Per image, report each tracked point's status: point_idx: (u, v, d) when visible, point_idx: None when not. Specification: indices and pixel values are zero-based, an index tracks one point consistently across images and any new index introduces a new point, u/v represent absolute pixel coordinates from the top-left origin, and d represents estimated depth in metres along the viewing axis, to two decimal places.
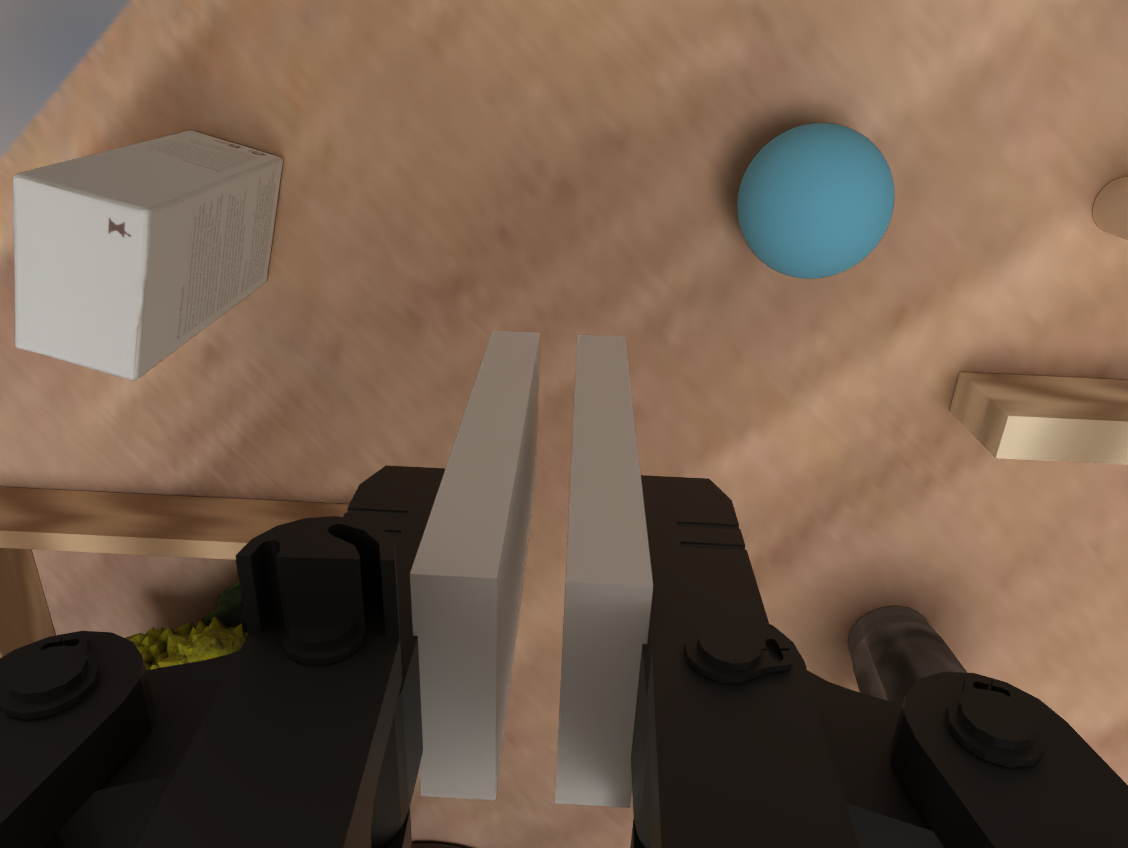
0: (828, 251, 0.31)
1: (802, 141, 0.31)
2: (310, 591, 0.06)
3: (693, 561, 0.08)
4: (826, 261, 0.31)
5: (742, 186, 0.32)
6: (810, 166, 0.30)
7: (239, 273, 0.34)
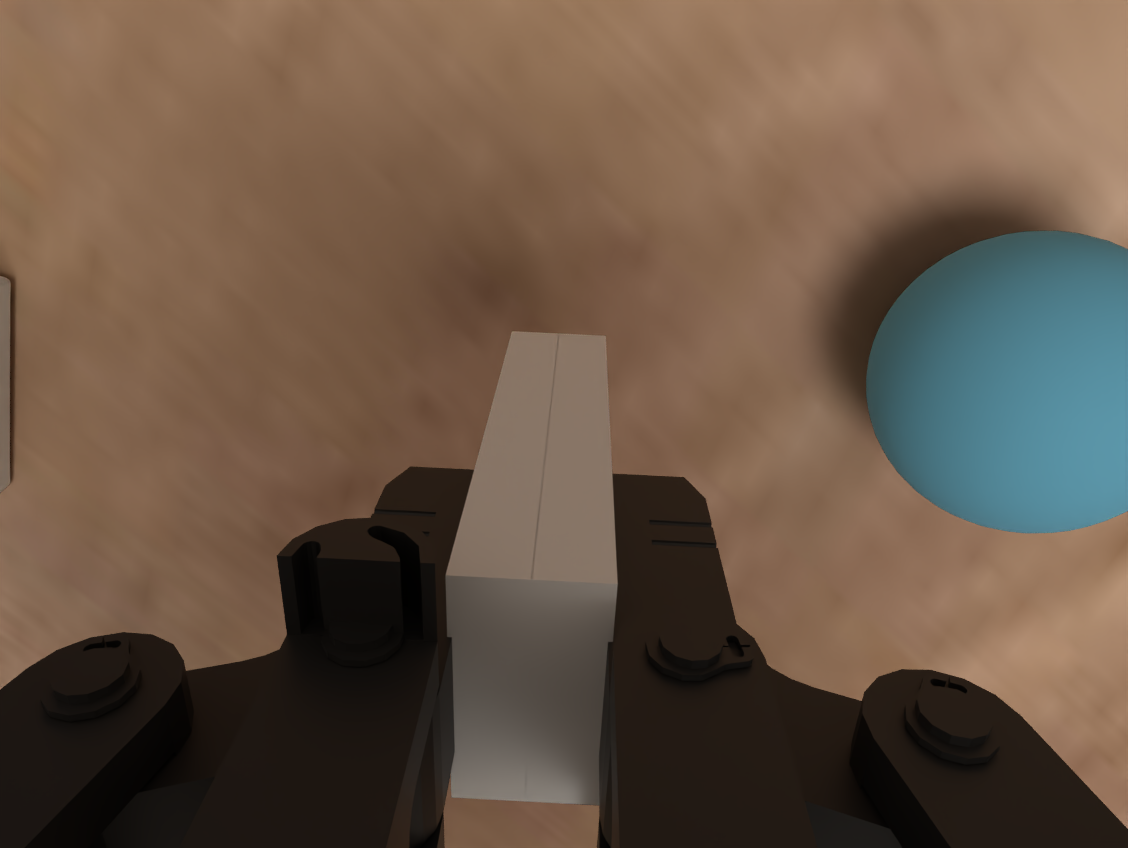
0: (1084, 508, 0.15)
1: (1032, 278, 0.14)
2: (350, 593, 0.06)
3: (664, 559, 0.08)
4: (1073, 521, 0.15)
5: (886, 354, 0.16)
6: (1060, 338, 0.14)
7: None
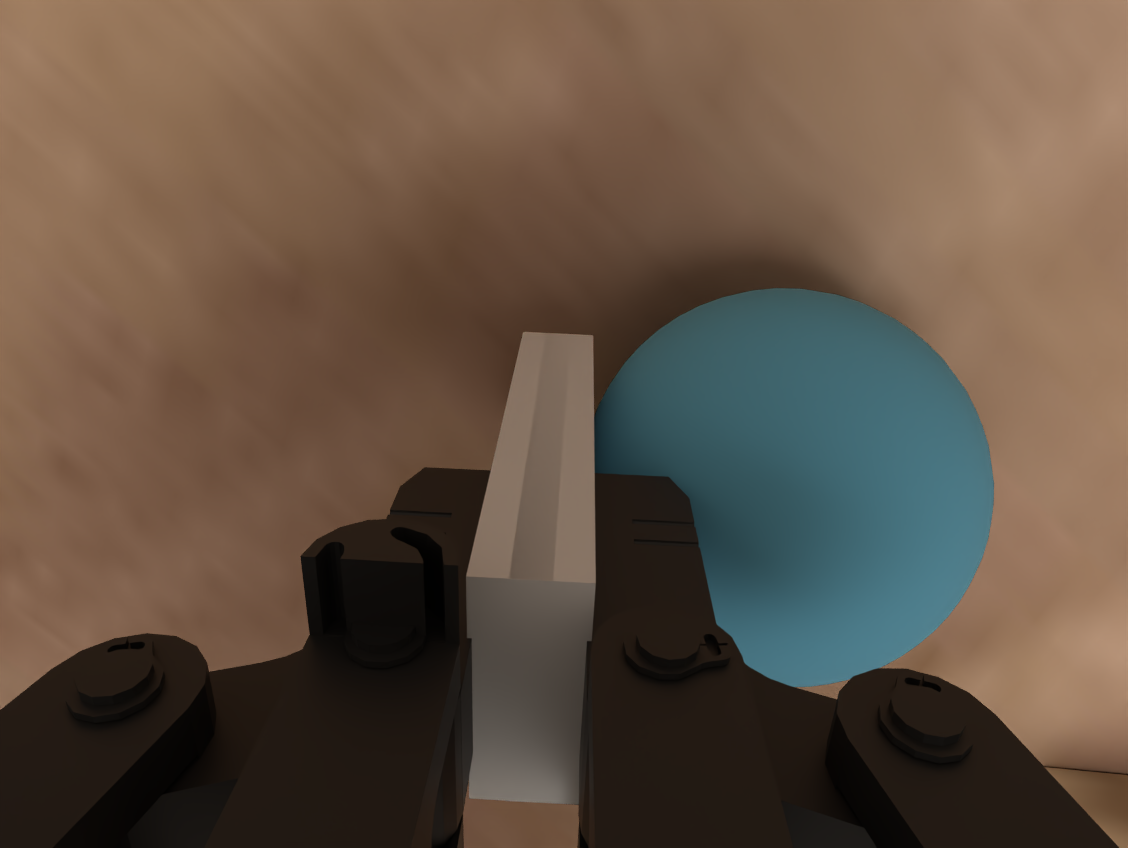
0: (828, 669, 0.11)
1: (764, 358, 0.10)
2: (372, 594, 0.06)
3: (644, 558, 0.08)
4: (818, 682, 0.11)
5: (594, 445, 0.12)
6: (791, 447, 0.10)
7: None
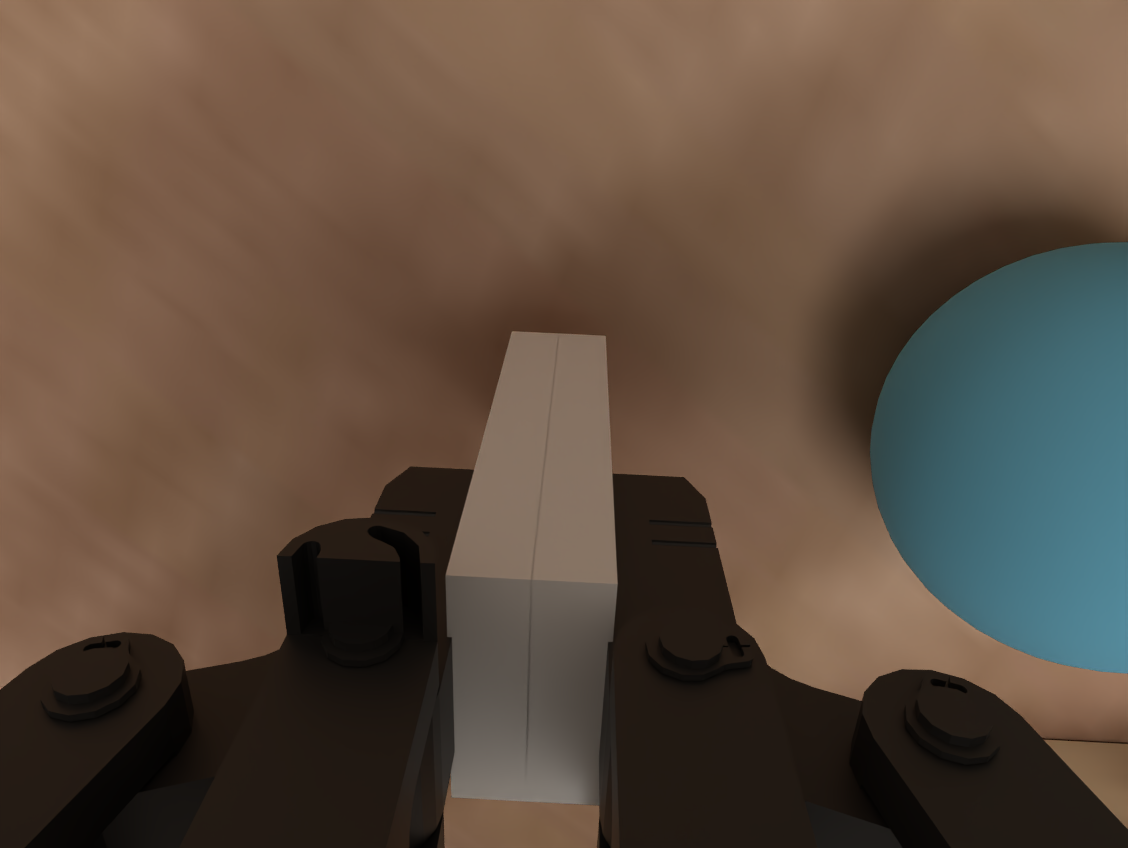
0: None
1: None
2: (350, 593, 0.06)
3: (663, 558, 0.08)
4: None
5: None
6: None
7: None
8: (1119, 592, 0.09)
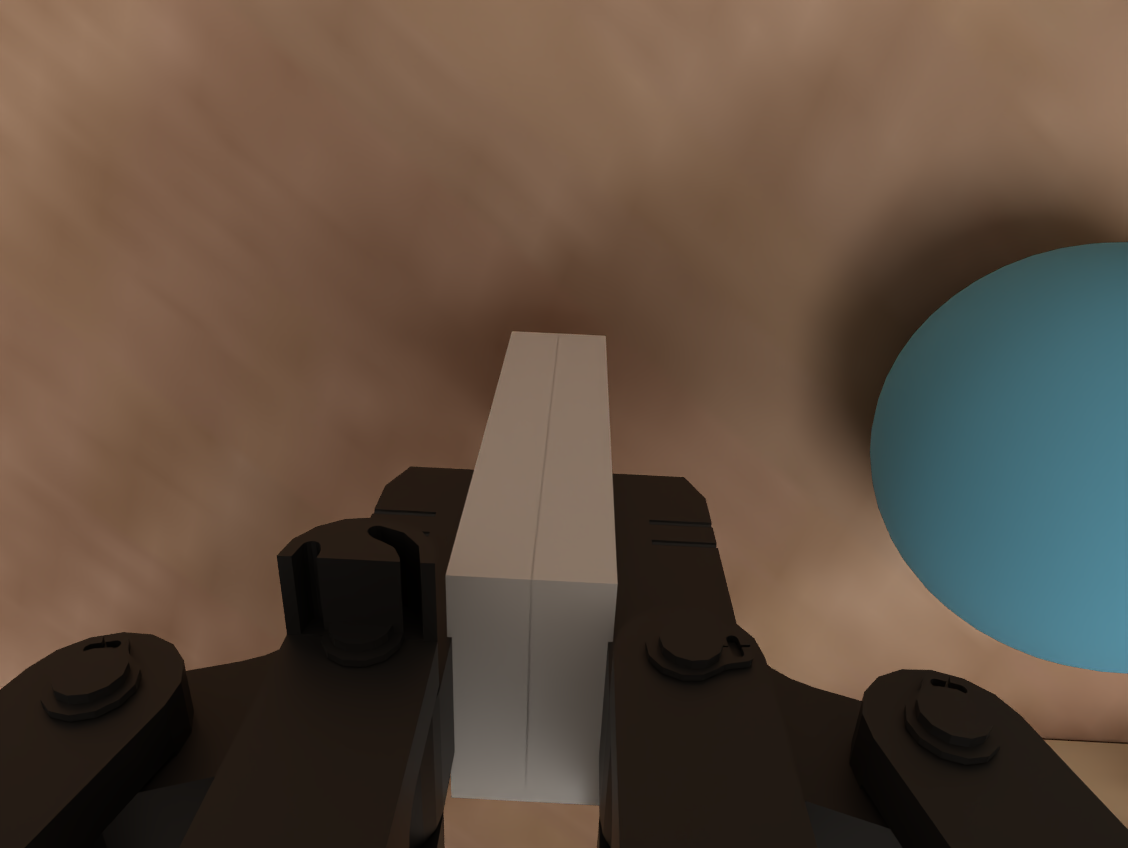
0: None
1: None
2: (350, 593, 0.06)
3: (663, 558, 0.08)
4: None
5: None
6: None
7: None
8: (1119, 592, 0.09)
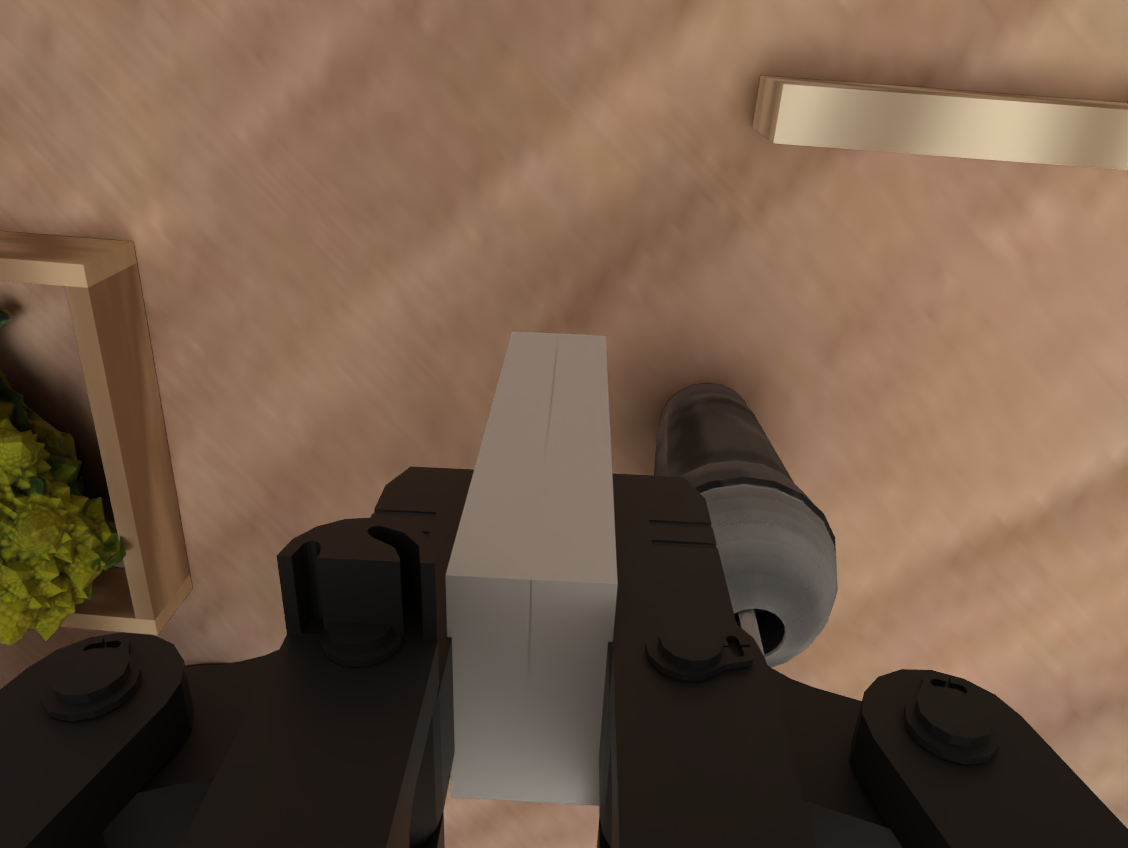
0: None
1: None
2: (350, 593, 0.06)
3: (663, 558, 0.08)
4: None
5: None
6: None
7: None
8: None
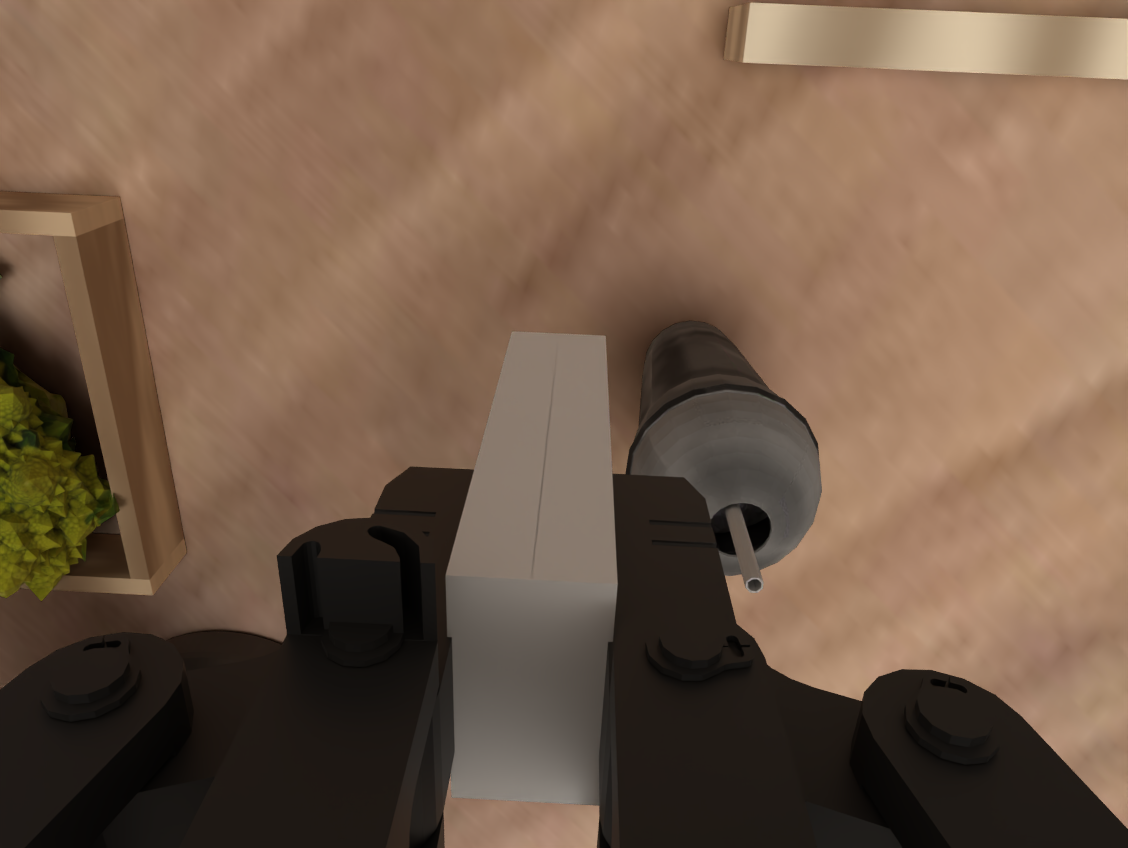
0: None
1: None
2: (350, 593, 0.06)
3: (663, 558, 0.08)
4: None
5: None
6: None
7: None
8: None
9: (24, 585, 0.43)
